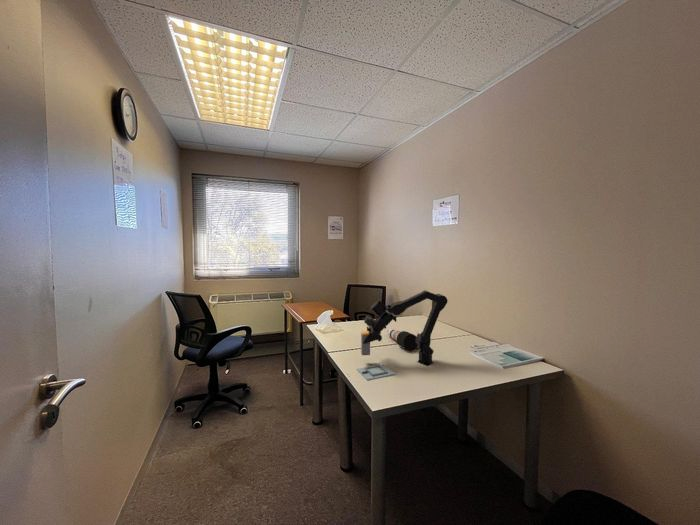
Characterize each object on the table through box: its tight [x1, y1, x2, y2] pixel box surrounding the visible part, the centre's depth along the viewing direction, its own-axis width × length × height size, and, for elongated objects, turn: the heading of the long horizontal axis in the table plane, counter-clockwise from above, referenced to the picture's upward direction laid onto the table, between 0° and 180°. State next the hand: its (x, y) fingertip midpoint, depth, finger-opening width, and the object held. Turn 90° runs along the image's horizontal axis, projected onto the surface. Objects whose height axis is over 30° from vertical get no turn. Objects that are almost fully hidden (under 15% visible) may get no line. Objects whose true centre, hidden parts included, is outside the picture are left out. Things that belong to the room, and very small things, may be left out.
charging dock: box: [356, 363, 397, 381], centre depth 140 cm, size 16×12×2 cm
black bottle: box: [387, 328, 419, 352], centre depth 184 cm, size 10×34×10 cm, turn 13°
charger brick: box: [360, 330, 371, 356], centre depth 149 cm, size 4×4×12 cm
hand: (363, 341), depth 149 cm, fingers closed on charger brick, 4 cm apart
